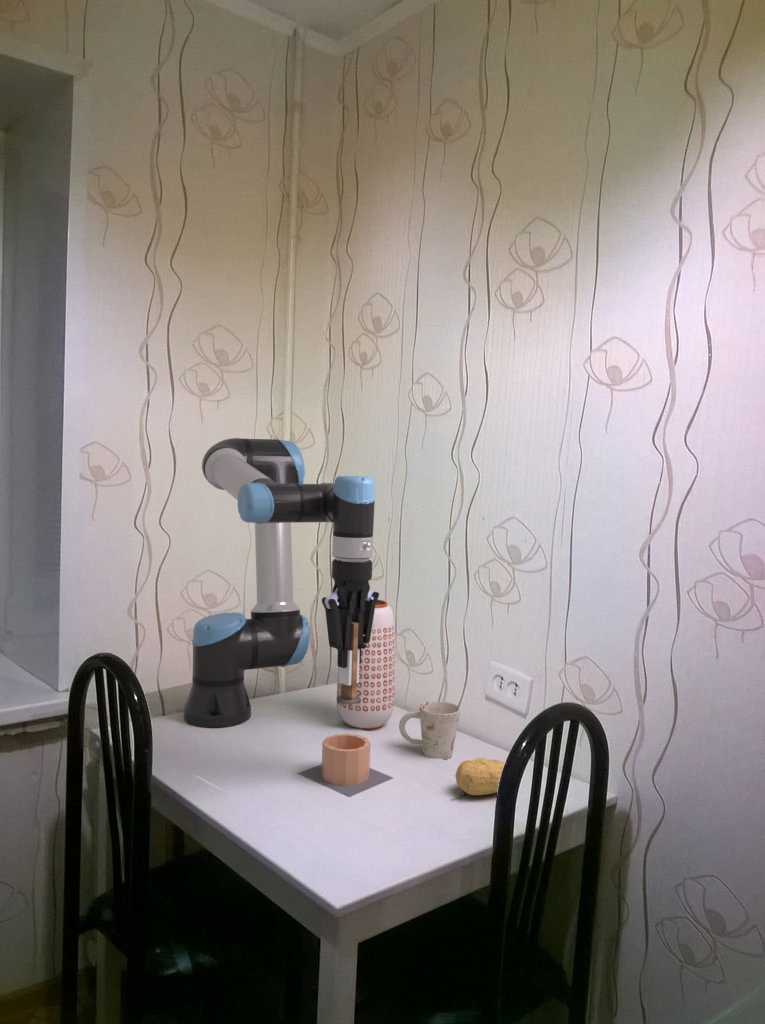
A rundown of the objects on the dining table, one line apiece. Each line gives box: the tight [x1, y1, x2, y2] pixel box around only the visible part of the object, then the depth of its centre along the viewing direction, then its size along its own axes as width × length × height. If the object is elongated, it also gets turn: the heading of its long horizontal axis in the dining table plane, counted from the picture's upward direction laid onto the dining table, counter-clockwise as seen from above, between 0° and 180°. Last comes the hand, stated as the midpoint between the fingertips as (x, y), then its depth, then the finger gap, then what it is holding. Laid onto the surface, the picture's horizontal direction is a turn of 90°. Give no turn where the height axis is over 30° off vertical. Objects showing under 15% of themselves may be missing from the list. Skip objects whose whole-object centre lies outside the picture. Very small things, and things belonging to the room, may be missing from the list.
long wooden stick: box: [336, 621, 360, 704], centre depth 146 cm, size 4×4×15 cm
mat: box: [297, 763, 394, 798], centre depth 147 cm, size 14×12×1 cm
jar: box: [321, 733, 372, 786], centre depth 147 cm, size 9×9×6 cm
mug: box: [398, 700, 461, 760], centre depth 160 cm, size 8×13×10 cm, turn 78°
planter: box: [336, 599, 396, 731], centre depth 176 cm, size 13×13×28 cm
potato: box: [455, 757, 506, 796], centre depth 143 cm, size 7×11×6 cm, turn 106°
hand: (348, 682), depth 146 cm, fingers closed on long wooden stick, 1 cm apart
